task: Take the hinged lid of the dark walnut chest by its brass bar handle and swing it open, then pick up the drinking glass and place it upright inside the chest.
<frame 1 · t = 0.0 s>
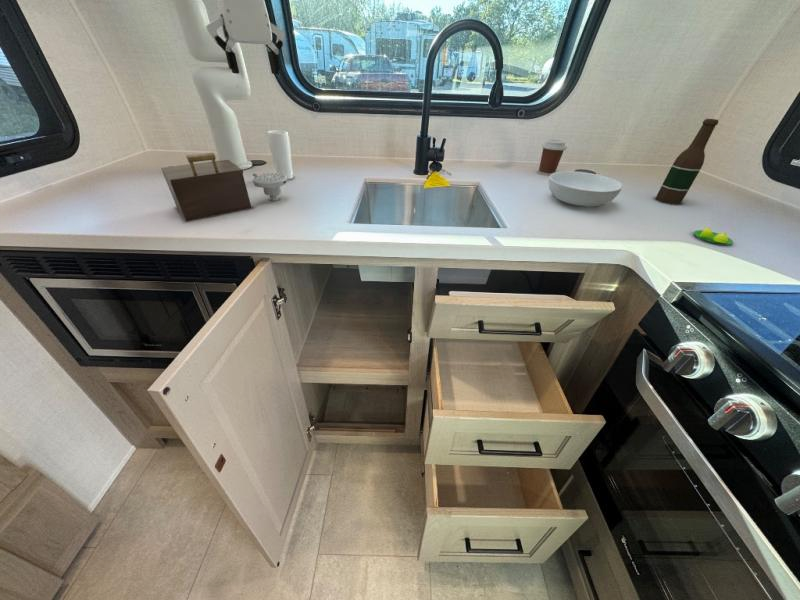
hand: (256, 73, 77), 31 cm above the worktop, tool pointing down, fingers open, 9 cm apart
green disc yellow mounds: (710, 239, 82), on the worktop
lid: (199, 161, 81), point 12 cm above the worktop, hinge at 0.0°
showerhead: (273, 200, 96), on the worktop
coffee cup: (546, 173, 130), on the worktop
beer bottle: (667, 201, 106), on the worktop
chest: (214, 207, 89), on the worktop
drinking glass: (285, 178, 114), on the worktop
serving bowl: (576, 202, 102), on the worktop
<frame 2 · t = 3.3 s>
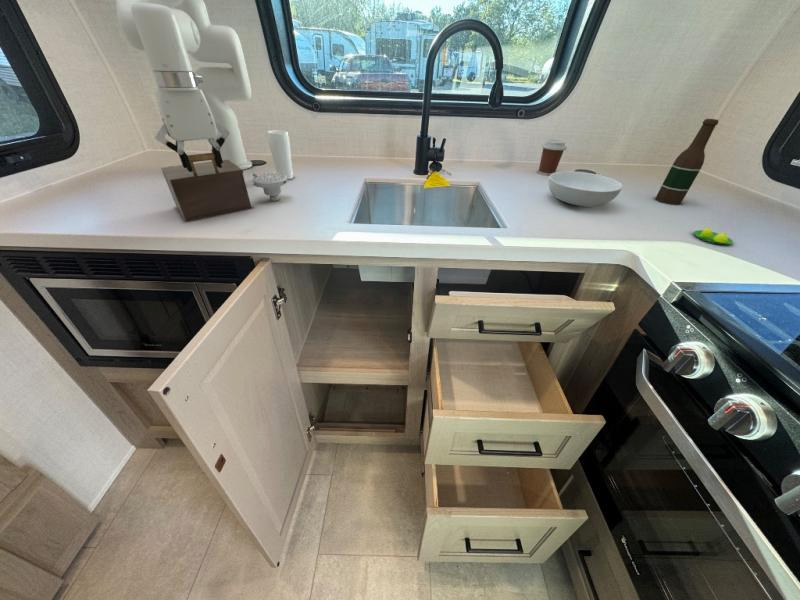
hand: (204, 167, 79), 12 cm above the worktop, tool pointing down, fingers closed on lid, 6 cm apart
lid: (199, 161, 81), point 12 cm above the worktop, hinge at 0.0°, touching gripper
everything else where it was.
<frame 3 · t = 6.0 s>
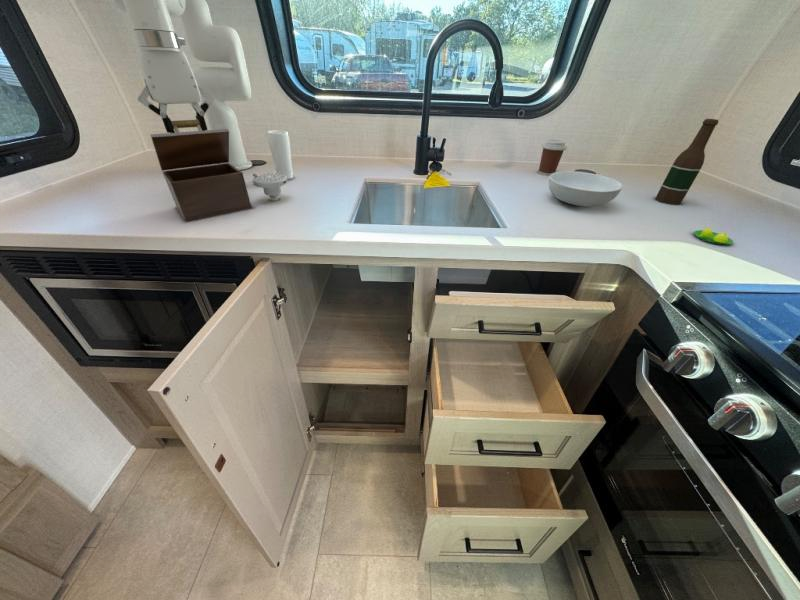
hand: (188, 134, 79), 19 cm above the worktop, tool pointing down, fingers closed on lid, 6 cm apart
lid: (190, 142, 81), point 16 cm above the worktop, hinge at 45.3°, touching gripper
everything else where it was.
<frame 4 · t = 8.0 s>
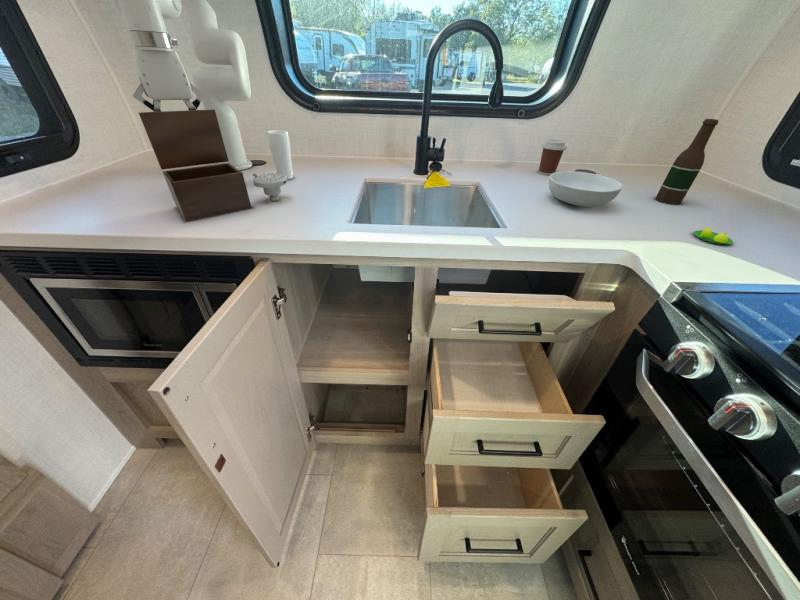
hand: (181, 128, 84), 19 cm above the worktop, tool pointing down, fingers closed on lid, 6 cm apart
lid: (186, 137, 84), point 17 cm above the worktop, hinge at 87.8°, touching gripper
everything else where it was.
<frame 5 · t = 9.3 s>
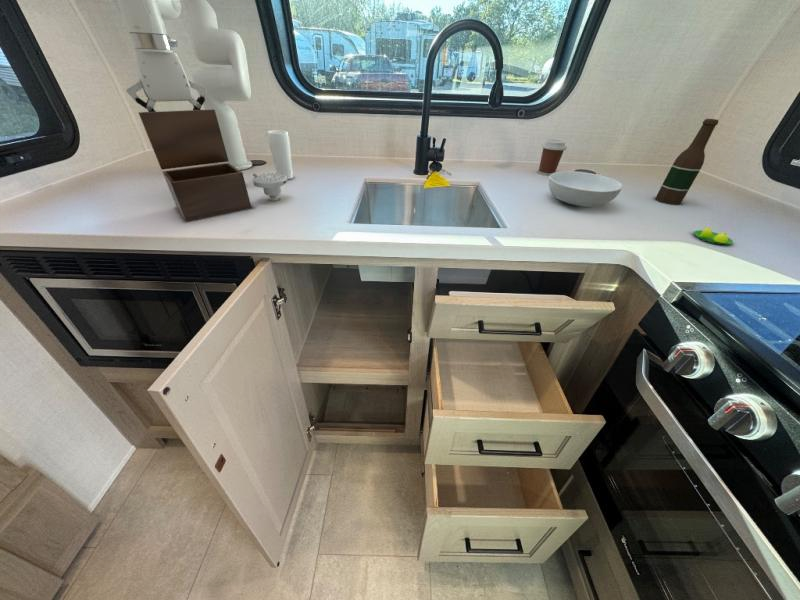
hand: (180, 126, 84), 19 cm above the worktop, tool pointing down, fingers open, 9 cm apart
lid: (186, 137, 84), point 17 cm above the worktop, hinge at 88.2°
everything else where it was.
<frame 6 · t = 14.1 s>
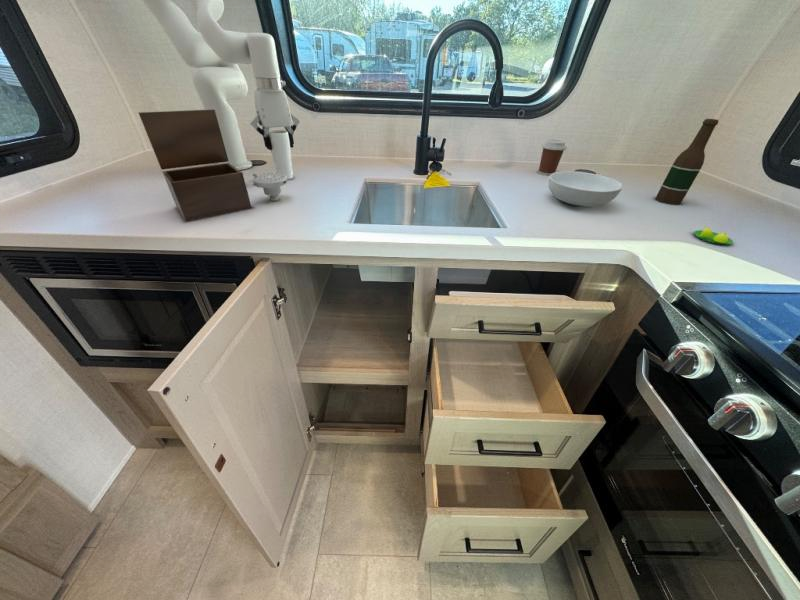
hand: (280, 147, 107), 10 cm above the worktop, tool pointing down, fingers closed on drinking glass, 6 cm apart
drinking glass: (285, 178, 114), on the worktop, touching gripper
everything else where it was.
when the fingers open (11 cm above the worktop, at t = 25.3 s): drinking glass stays where it is, resting on chest.
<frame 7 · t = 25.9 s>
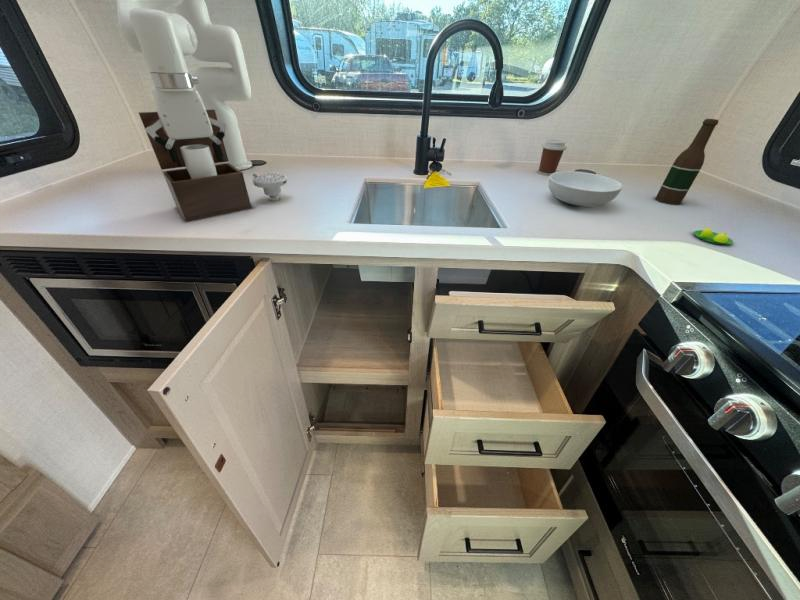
hand: (199, 162, 82), 12 cm above the worktop, tool pointing down, fingers open, 9 cm apart
drinking glass: (213, 205, 89), point 1 cm above the worktop, touching chest
everything else where it was.
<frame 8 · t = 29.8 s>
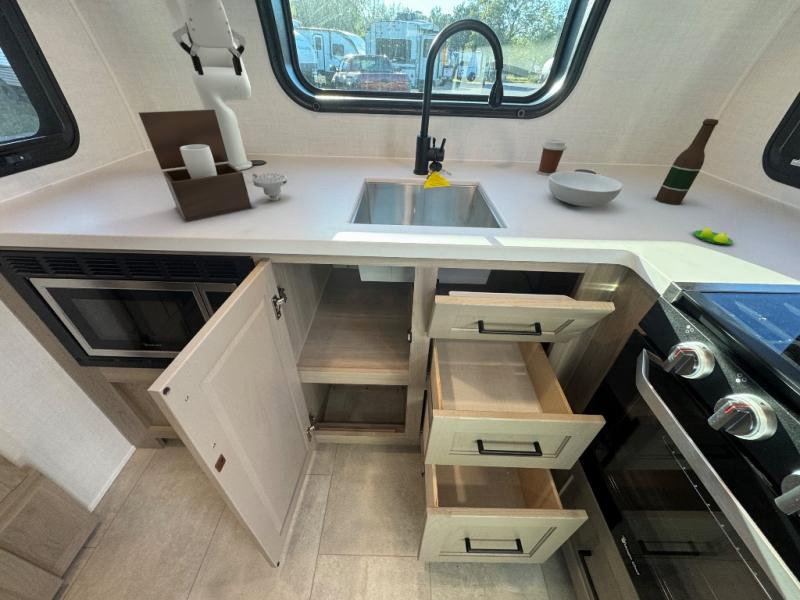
hand: (220, 75, 86), 30 cm above the worktop, tool pointing down, fingers open, 9 cm apart
nothing on the worktop moved.
at the end: lid at +88° (first picture: +0°); drinking glass inside the target area in the chest (0.0 cm from its centre), point 0.6 cm above the chest's base; drinking glass tilted 0° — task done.
